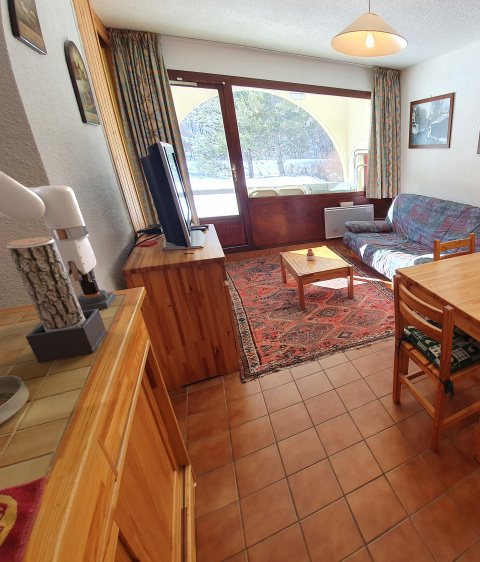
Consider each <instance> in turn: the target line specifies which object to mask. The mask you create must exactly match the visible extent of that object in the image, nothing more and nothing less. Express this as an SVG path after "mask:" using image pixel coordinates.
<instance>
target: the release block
mask: <svg viewBox="0 0 480 562" xmlns="http://www.w3.org/2000/svg"><path fill="white" fill-rule="evenodd" d="M99 293H100V294H99V295H97V296H93V297H88V298H86V297H84V296H83V295H84V293H83V292H82V293H80V294H78V296H76V297H77V299H78V302H79V304H80V307H81V309H82V311H87V310H94V309H98V310H99V311H100V310H104V309H105V310H106V309H109V307H110V306H111V304H113V302H114V301H115V299H116V298H117V296H116V293H115V292H107V291H106V290H105V289H99Z"/></svg>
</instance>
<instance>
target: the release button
mask: <svg viewBox="0 0 480 562" xmlns="http://www.w3.org/2000/svg"><path fill="white" fill-rule="evenodd" d="M99 294H100V293H99V292H98V293H97V294H91V295H83V296H84V297H86V298H88V297H93V296H97V295H99Z"/></svg>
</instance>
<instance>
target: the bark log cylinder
mask: <svg viewBox="0 0 480 562" xmlns="http://www.w3.org/2000/svg"><path fill="white" fill-rule="evenodd" d="M5 246H6V249H7V251H8V253H9V256H10V257H11V260H12V262H13V264H14V266H15V268H16V270H17V273H18V274H19V276H20V279H21V281H22V283H23V285H24V287H25V289H26V292H27V294H28V296H29V298H30V301H31V303H32V305H33V307H34V310H35V311H36V314H37V315H38V318H39V320H40V323H41V322H42V324H43V326H44V329H45V331H46V332H51V331H58V330H64V329H71V328H77V327H81V326H82V325H83V324H84V323H85V321H86V319H85V317H84V314H83V312H82V309H81V307H80V304H79V302H78V299H77V297H78V296H77V295H76V291H75V289H74V287H73V285H72V282H71V279H70V276H68V274H67V272H66V269H65V267H64V264H63V262H62V259H61V256H60V254H59V251H58V249H57V246H56V244H55V241H54V240H53V238H51V236H37V237H27V238H22V239H16V240H13V241H12V240H11V241H9V242H7V243H5Z"/></svg>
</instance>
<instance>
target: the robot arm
mask: <svg viewBox="0 0 480 562" xmlns="http://www.w3.org/2000/svg"><path fill="white" fill-rule="evenodd" d="M0 216H1V217H4V218H6V219H9V220H12V221H16V222H19V223H32V222H35V221H37V220H40V219H41V218H42V219H43V221H44V225H45V227H46V229H47V232H48V234H49V237H51V238H53V240H54V241H55V244H56V246H57V249H58V251H59V254H60V256H61V259H62V262H63V264H64V267H65V269H66V272H67V274H68V277H70V276H72V277H73V281H74V282H78V284H79V286H80V288H81V290H82V294H83V293H84V295H91V294H97V293H98V292H99V290H100V288H99V285H98V282H97V280H96V275H95V272H94V269H95V267H96V266H97V263H98V262H97V259H96V256H95V253H94V250H93V248H92V245H91V242H90V240H89V238H88V237H90V235H89V232H88V229H87V226H86V223H85V221H84V217H83V215H82V212H81V210H80V207H79V204H78V201H77V199H76V195H75V193H74V190H73V189H72V188H71V187H70V186H69V185H68V186H67V185H61V184H59V185H57V184H56V185H54V184H52V185H41V186H36V187H26V186H24V185H23V184H21V183H20V182H18V181H16V179H13V178H12V177H10V176H9V175H7V174H6V173H4V172H2V171H1V170H0Z"/></svg>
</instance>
